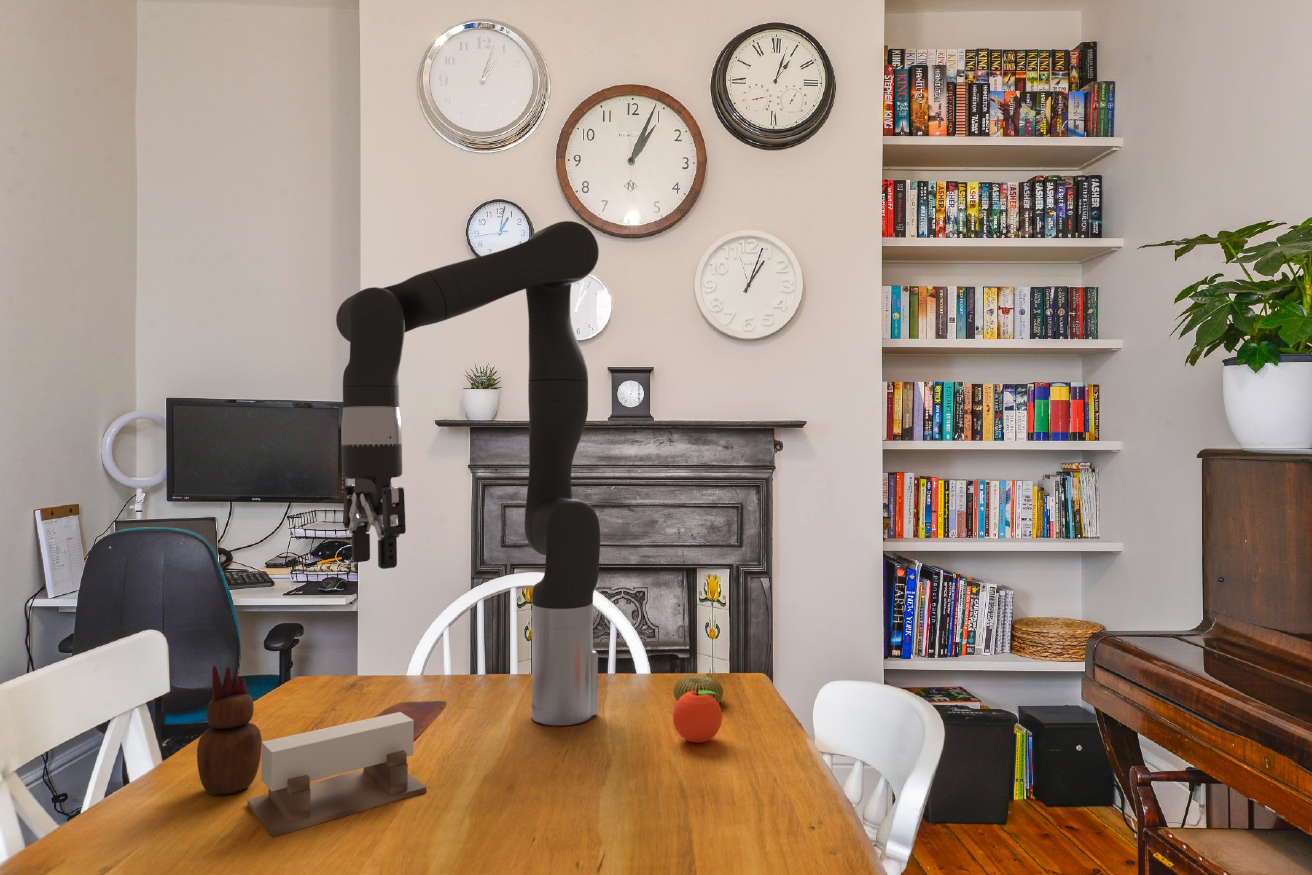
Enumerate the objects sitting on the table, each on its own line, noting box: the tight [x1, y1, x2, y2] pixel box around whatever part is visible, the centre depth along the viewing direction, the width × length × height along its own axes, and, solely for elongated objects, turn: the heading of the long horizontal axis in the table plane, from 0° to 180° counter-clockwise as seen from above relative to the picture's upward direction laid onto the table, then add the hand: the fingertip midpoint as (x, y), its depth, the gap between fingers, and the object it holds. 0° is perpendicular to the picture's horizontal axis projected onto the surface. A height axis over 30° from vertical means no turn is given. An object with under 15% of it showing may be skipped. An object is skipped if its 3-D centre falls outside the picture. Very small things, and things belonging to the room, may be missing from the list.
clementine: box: [672, 690, 727, 744], centre depth 111 cm, size 8×7×7 cm
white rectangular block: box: [260, 712, 414, 791], centre depth 93 cm, size 16×4×4 cm, turn 131°
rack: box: [246, 750, 427, 838], centre depth 92 cm, size 17×10×5 cm, turn 131°
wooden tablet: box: [372, 700, 447, 742], centre depth 115 cm, size 27×10×2 cm, turn 175°
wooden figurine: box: [196, 665, 263, 795], centre depth 95 cm, size 7×6×15 cm
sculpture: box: [673, 674, 724, 704], centre depth 128 cm, size 8×4×8 cm
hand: (373, 564), depth 105 cm, fingers open, 8 cm apart
